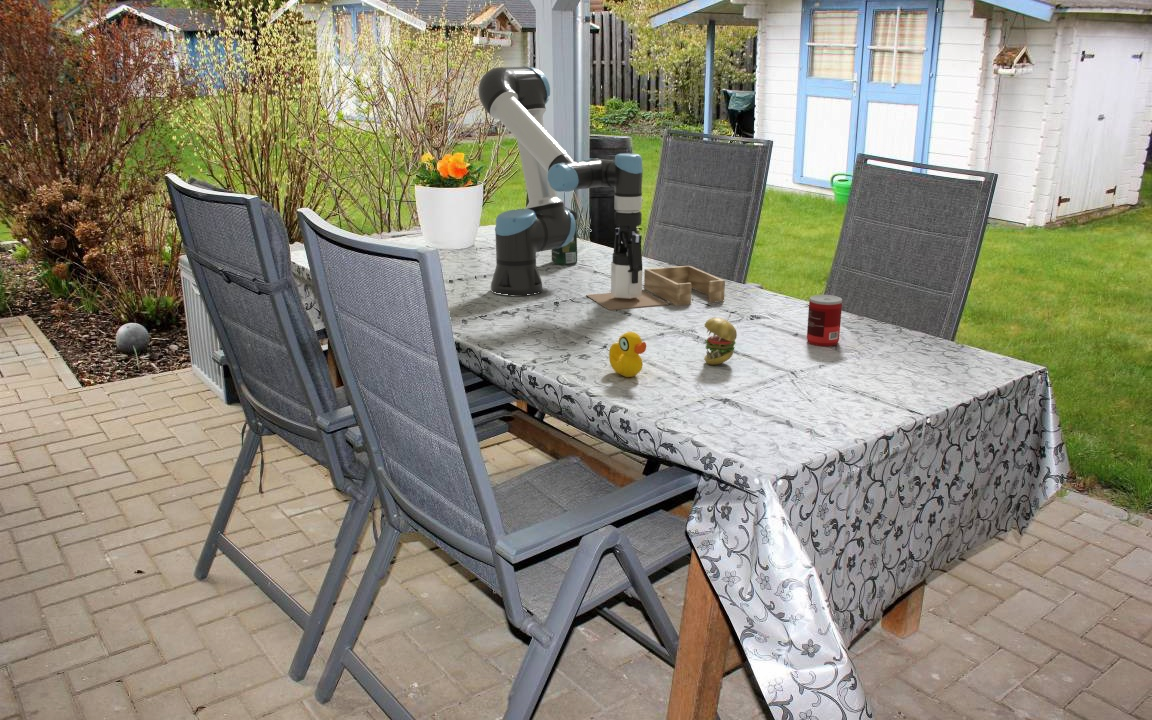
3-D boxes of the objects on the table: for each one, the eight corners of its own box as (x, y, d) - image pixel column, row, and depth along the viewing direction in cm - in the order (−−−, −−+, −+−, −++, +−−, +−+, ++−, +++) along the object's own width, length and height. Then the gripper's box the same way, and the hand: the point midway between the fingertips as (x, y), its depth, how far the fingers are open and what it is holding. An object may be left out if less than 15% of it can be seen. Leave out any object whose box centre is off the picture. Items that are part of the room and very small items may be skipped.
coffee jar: (548, 261, 338) (548, 206, 332) (570, 259, 340) (570, 205, 335) (557, 266, 329) (557, 210, 323) (580, 265, 331) (580, 209, 326)
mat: (609, 310, 273) (609, 309, 273) (586, 295, 289) (586, 294, 289) (669, 304, 279) (669, 303, 279) (642, 291, 295) (642, 290, 295)
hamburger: (701, 358, 230) (703, 308, 226) (733, 358, 230) (735, 308, 226) (704, 368, 223) (706, 316, 219) (737, 368, 222) (739, 316, 219)
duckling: (654, 380, 214) (655, 335, 212) (634, 385, 212) (635, 339, 209) (621, 367, 223) (622, 324, 220) (602, 371, 220) (603, 327, 217)
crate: (676, 305, 278) (676, 284, 276) (644, 288, 298) (644, 269, 296) (724, 301, 283) (725, 280, 281) (689, 285, 303) (690, 265, 301)
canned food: (840, 339, 245) (843, 295, 242) (837, 348, 238) (840, 303, 235) (808, 336, 248) (811, 293, 245) (804, 345, 241) (807, 300, 237)
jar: (626, 300, 278) (626, 257, 275) (605, 295, 284) (605, 253, 280) (647, 295, 284) (648, 253, 280) (626, 290, 290) (627, 249, 286)
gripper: (656, 215, 268) (654, 297, 275) (625, 205, 287) (624, 282, 294) (630, 217, 266) (629, 300, 272) (601, 206, 285) (601, 284, 291)
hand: (627, 290), depth 283 cm, fingers closed on jar, 8 cm apart
